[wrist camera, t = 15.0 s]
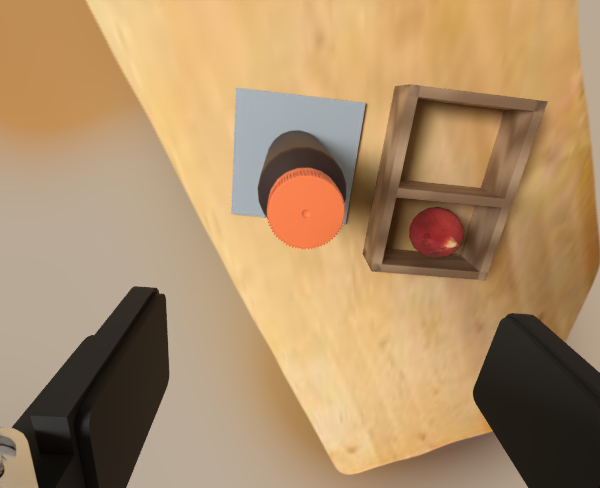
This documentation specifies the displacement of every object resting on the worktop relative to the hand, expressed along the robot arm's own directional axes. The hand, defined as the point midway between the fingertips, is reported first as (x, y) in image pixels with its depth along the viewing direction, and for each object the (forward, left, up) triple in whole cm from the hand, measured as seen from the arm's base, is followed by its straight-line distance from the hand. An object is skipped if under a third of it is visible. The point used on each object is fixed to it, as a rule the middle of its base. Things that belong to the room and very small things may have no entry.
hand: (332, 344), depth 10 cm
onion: (+6, +17, -33) cm, 38 cm away
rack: (+1, +17, -33) cm, 37 cm away
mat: (0, 0, -33) cm, 33 cm away
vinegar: (0, 0, -33) cm, 33 cm away
